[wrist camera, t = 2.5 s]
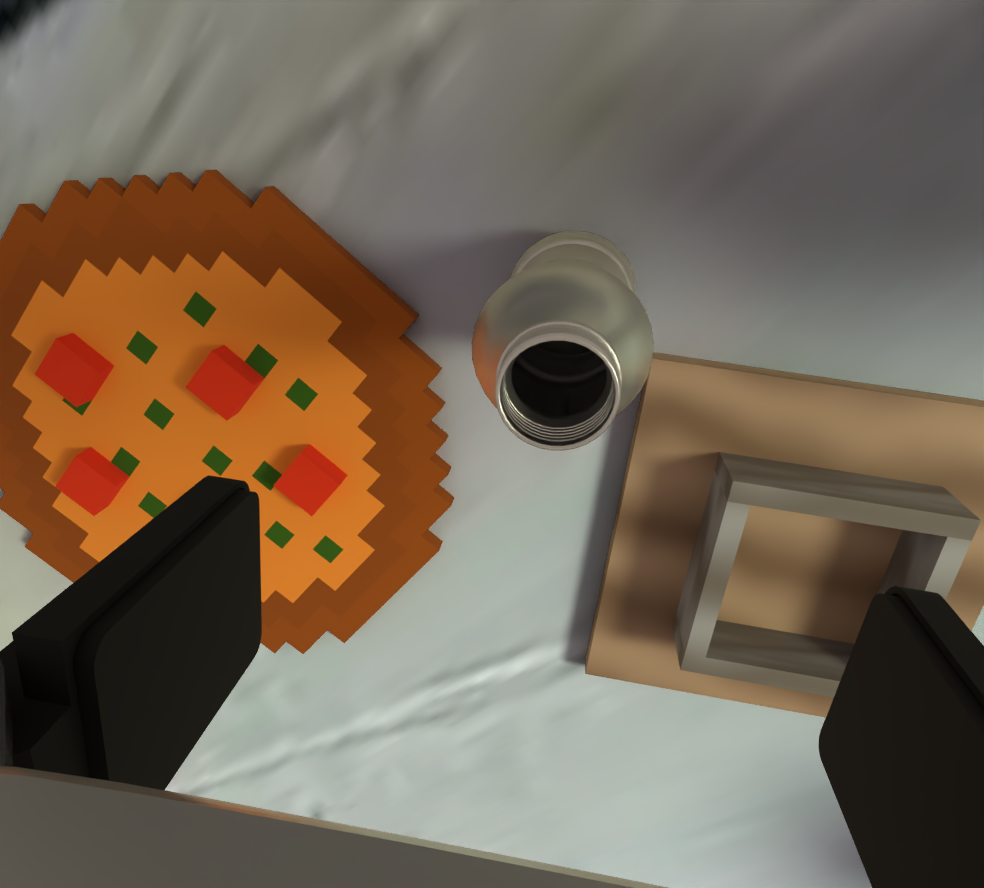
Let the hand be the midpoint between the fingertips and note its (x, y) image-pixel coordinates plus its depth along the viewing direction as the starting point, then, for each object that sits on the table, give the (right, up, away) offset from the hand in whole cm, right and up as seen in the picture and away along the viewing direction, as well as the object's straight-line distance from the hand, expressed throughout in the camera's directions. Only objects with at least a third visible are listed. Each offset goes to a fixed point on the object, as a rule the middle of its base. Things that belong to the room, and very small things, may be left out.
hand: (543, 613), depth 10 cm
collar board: (+18, -4, +32) cm, 37 cm away
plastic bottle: (+4, +11, +28) cm, 31 cm away
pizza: (-19, +3, +35) cm, 40 cm away
